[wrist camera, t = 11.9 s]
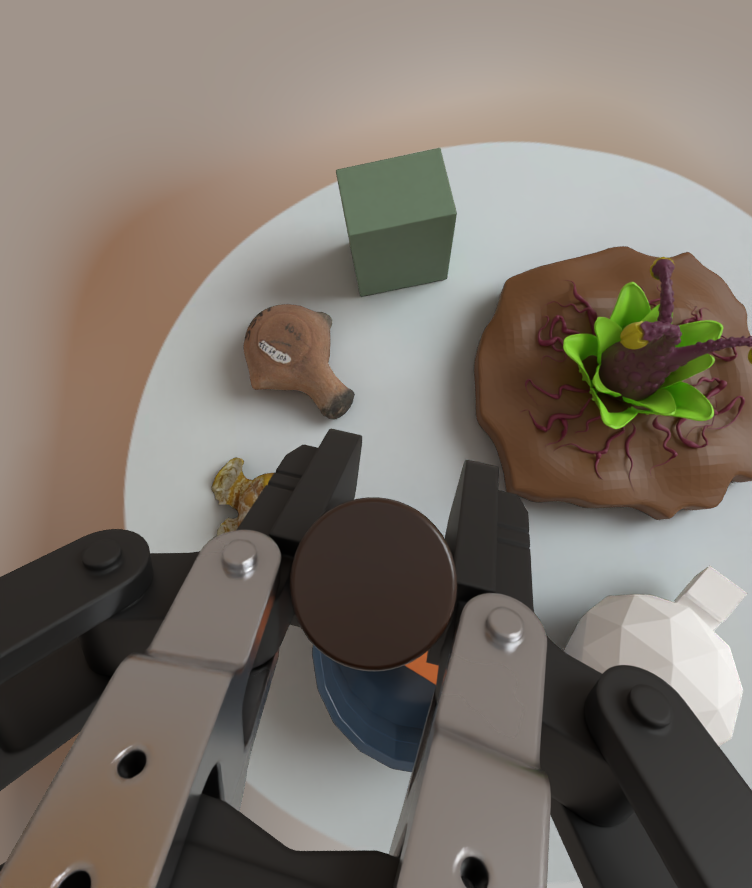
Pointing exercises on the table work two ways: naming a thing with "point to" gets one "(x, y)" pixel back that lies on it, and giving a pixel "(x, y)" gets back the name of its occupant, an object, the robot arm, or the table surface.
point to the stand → (398, 220)
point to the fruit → (237, 492)
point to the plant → (618, 383)
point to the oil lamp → (295, 356)
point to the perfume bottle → (671, 645)
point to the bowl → (376, 708)
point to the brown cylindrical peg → (373, 584)
